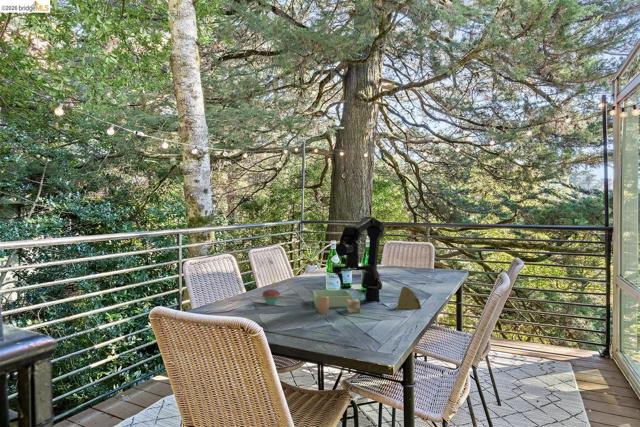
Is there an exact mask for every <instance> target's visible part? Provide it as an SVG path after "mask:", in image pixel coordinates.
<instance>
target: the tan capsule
mask: <svg viewBox="0 0 640 427" xmlns="http://www.w3.org/2000/svg"><path fill="white" fill-rule="evenodd" d="M317 313H318V314H322V315H325V314H328V313H330V308H329V297H328V296H318V308H317Z"/></svg>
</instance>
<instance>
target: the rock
mask: <svg viewBox="0 0 640 427" xmlns="http://www.w3.org/2000/svg"><path fill="white" fill-rule="evenodd" d="M396 309H397V310H399V309H400V310H414V309H422V305H421V303H420V299H419V298H418V297H417V296H416V293H414V291H413V290H412V289H410V288H409V287H407V286H402V288H401V291H400V294H399V298H398V301H397V308H396Z"/></svg>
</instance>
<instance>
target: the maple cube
mask: <svg viewBox="0 0 640 427" xmlns="http://www.w3.org/2000/svg"><path fill="white" fill-rule="evenodd" d="M346 310H347V312H348V313H349V314H350V313H351V314H352V313H353V312H354V313H353V314H355V313H360V312H361V302H360V300H359V299H358V298H352V299H347V307H346Z"/></svg>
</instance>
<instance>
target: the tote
mask: <svg viewBox="0 0 640 427" xmlns="http://www.w3.org/2000/svg"><path fill="white" fill-rule="evenodd" d="M312 292H313V293H312V294H313V295H312V296H313V297H312V300H313V301H312V302H313V304H314V307H315V308H316V309H318V296H328V297H329V309H331V308H347V299H353V296H352V294H351V292H350V291H349V290H348V289H333V290H332V289H331V290H313V291H312Z"/></svg>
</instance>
